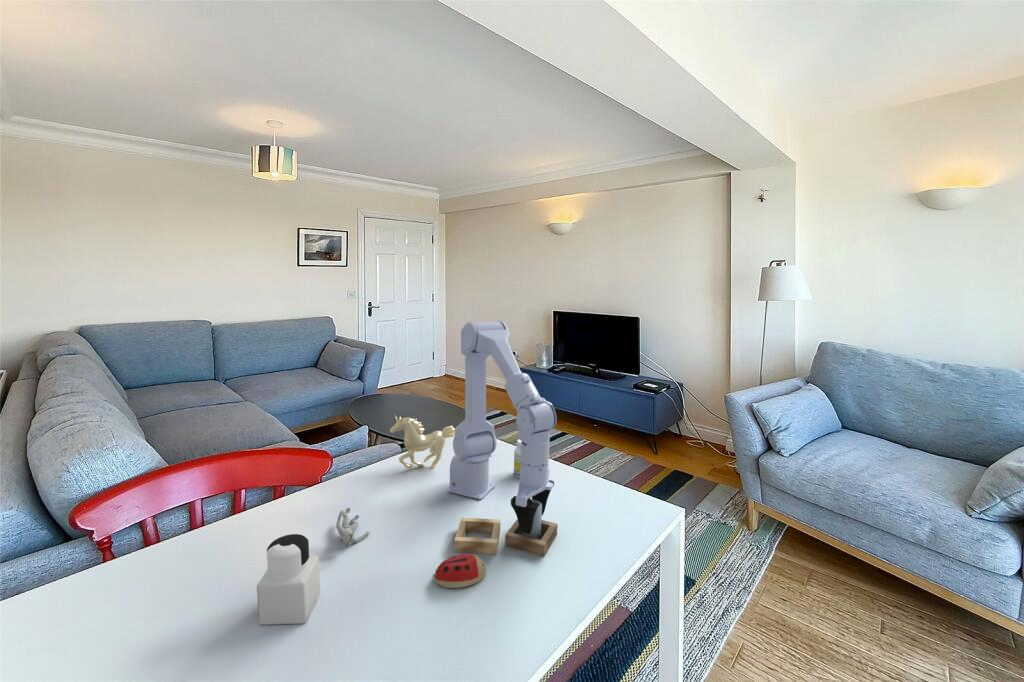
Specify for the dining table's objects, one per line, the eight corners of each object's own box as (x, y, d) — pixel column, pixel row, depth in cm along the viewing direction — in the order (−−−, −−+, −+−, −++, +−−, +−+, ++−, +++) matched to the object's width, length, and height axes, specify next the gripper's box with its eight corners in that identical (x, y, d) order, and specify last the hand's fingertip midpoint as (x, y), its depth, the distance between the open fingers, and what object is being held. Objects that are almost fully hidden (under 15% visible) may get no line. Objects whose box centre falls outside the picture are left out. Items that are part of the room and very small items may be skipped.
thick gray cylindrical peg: (517, 541, 95) (519, 505, 94) (527, 532, 98) (528, 497, 97) (535, 547, 93) (536, 511, 92) (543, 538, 96) (545, 502, 95)
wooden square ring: (504, 545, 93) (505, 534, 93) (520, 525, 101) (520, 514, 101) (544, 556, 90) (544, 545, 90) (557, 534, 98) (557, 523, 97)
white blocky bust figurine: (278, 594, 78) (274, 529, 76) (321, 592, 79) (318, 528, 77) (258, 626, 71) (253, 555, 69) (306, 624, 72) (302, 554, 70)
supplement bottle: (533, 471, 128) (534, 437, 127) (532, 479, 123) (533, 445, 122) (514, 469, 129) (515, 436, 127) (512, 478, 124) (513, 443, 122)
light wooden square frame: (454, 551, 91) (454, 540, 90) (461, 528, 99) (461, 517, 99) (496, 554, 90) (497, 542, 90) (500, 530, 99) (500, 519, 98)
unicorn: (455, 458, 136) (455, 402, 133) (460, 463, 132) (461, 406, 130) (388, 471, 126) (387, 411, 123) (392, 477, 122) (391, 416, 120)
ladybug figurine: (491, 582, 82) (491, 565, 82) (438, 597, 79) (438, 578, 78) (479, 561, 89) (479, 544, 88) (429, 573, 85) (429, 555, 84)
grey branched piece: (369, 523, 102) (375, 536, 91) (353, 542, 100) (357, 557, 89) (342, 502, 100) (345, 511, 90) (326, 521, 99) (326, 533, 88)
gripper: (541, 479, 85) (538, 546, 87) (563, 451, 98) (560, 510, 100) (506, 472, 87) (504, 537, 89) (532, 446, 101) (530, 503, 103)
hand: (532, 522), depth 95 cm, fingers open, 7 cm apart
